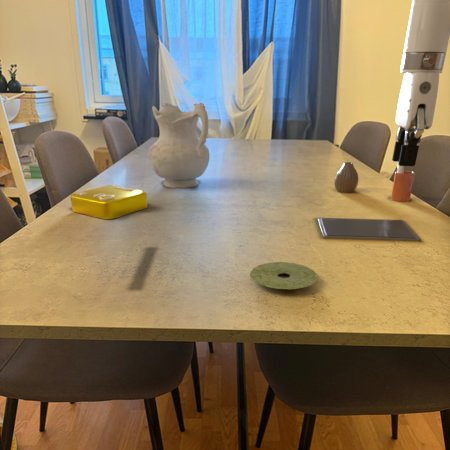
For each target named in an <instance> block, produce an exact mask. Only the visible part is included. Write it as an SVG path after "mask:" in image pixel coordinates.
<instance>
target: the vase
mask: <svg viewBox="0 0 450 450" xmlns="http://www.w3.org/2000/svg"><path fill="white" fill-rule="evenodd" d="M333 182H334V188H335V190H336V192H338V193H344V194H351V193H354V192H355V191H356V189H357V188H358V185H359V174H358V171H357V169H356V168H355V166H354V163H353V162H349V161H345V162H344V163H343V164H342V166H341V167H340V168H339V169H338V171H337V172H336V173H335V177H334V181H333Z"/></svg>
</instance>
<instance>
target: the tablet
mask: <svg viewBox="0 0 450 450" xmlns="http://www.w3.org/2000/svg"><path fill="white" fill-rule="evenodd" d="M317 222H318V225H319V229H320V231H321V235H322V238H323V239H335V240H336V239H338V240H339V239H340V240H365V241H366V240H367V241H369V240H370V241H399V242H400V241H401V242H420V241H421V238H419V237H418V236H417V234H416V233H415V232H414V231H413V230H412V229H411V227H409V225H408V224H407V223H406V222H405V221H404V220H403V219H381V218H379V219H378V218H376V219H375V218H343V217H341V218H339V217H317Z"/></svg>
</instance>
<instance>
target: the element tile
mask: <svg viewBox="0 0 450 450" xmlns="http://www.w3.org/2000/svg"><path fill="white" fill-rule="evenodd" d="M69 196H70V197H69V198H70V204H71V208H72V209H71V210H72V212H73V213H76V214H81V215H85V216H89V217H93V218H98V219H100V220H101V219H102V220H114V219H117V218H120V217H123V216H127V215H130V214H132V213H133V214H134V213H136V212H139V211H142V210H145V209H147V208H148V199H147V198H148V197H147V192H146V190H141V189H137V188H129V187H126V186H118V185H112V184H108V185H103V186H100V187H96V188H92V189H88V190H84V191H80V192H75V193H72V194H70V195H69Z"/></svg>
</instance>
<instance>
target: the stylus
mask: <svg viewBox="0 0 450 450" xmlns="http://www.w3.org/2000/svg"><path fill="white" fill-rule="evenodd" d="M398 163H399V162H397V171H398V173H402V174H404V171H405V166H400V165H399V164H398Z"/></svg>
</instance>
